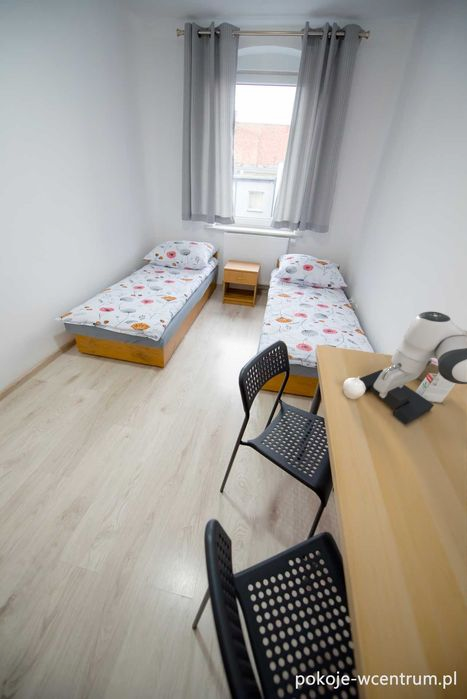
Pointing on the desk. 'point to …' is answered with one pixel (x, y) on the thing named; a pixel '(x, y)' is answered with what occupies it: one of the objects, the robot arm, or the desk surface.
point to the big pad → (413, 406)
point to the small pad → (393, 397)
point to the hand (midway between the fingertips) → (389, 393)
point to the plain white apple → (354, 388)
